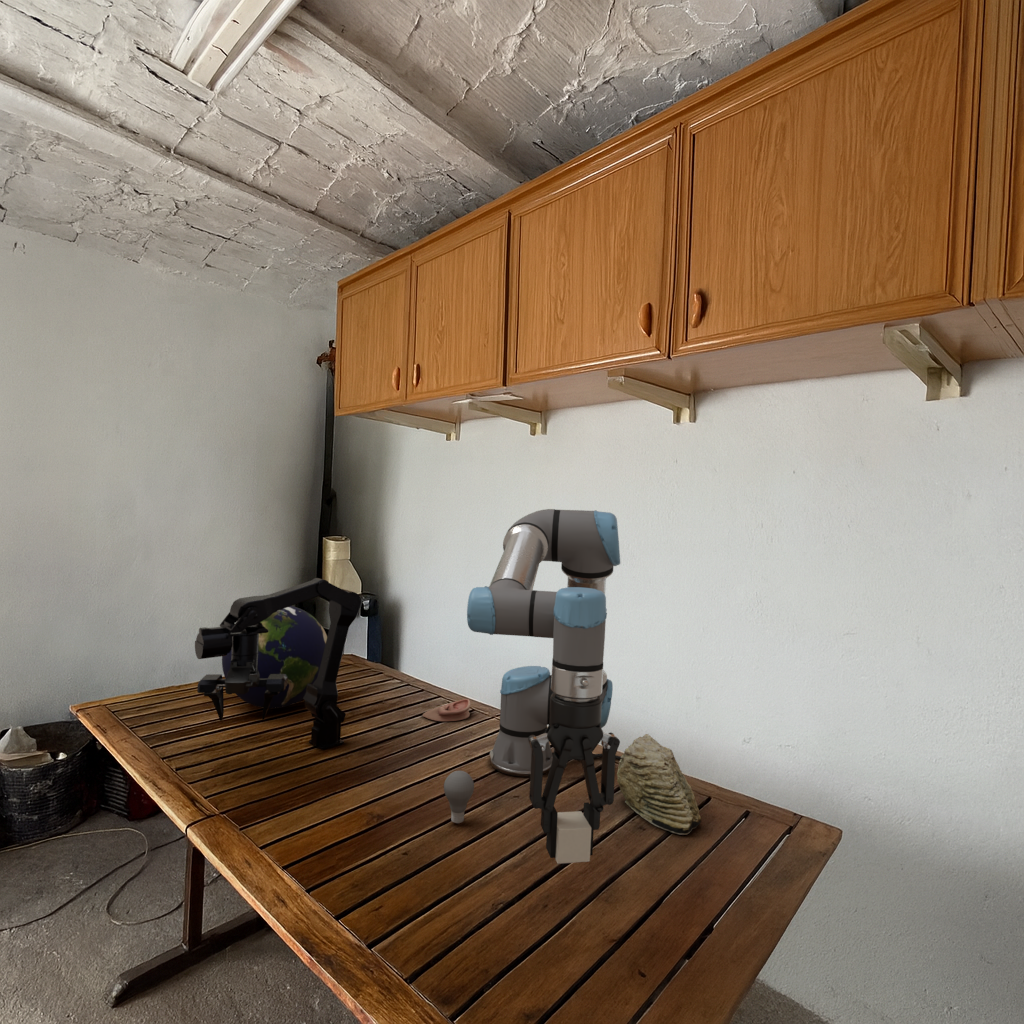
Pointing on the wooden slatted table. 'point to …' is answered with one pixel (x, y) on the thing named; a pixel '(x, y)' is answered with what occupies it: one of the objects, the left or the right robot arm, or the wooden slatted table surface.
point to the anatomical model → (450, 711)
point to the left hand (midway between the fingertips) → (242, 719)
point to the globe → (286, 655)
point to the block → (572, 838)
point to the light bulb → (458, 793)
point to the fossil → (657, 786)
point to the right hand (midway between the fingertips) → (569, 851)
